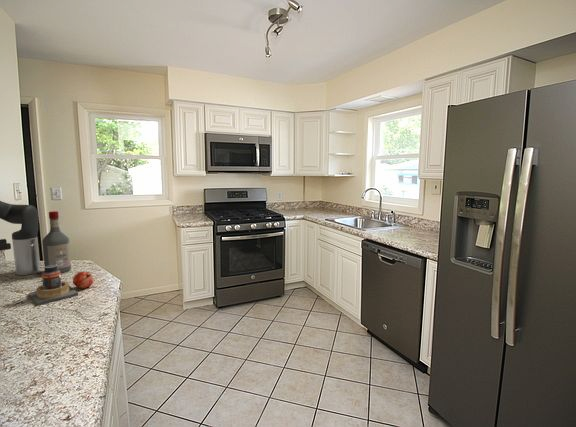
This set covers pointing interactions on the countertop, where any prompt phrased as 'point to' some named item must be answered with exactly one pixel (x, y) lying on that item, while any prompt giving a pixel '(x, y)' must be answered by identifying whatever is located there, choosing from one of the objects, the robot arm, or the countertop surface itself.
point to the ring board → (52, 294)
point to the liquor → (56, 246)
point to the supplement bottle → (51, 278)
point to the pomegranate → (83, 280)
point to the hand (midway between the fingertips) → (8, 243)
